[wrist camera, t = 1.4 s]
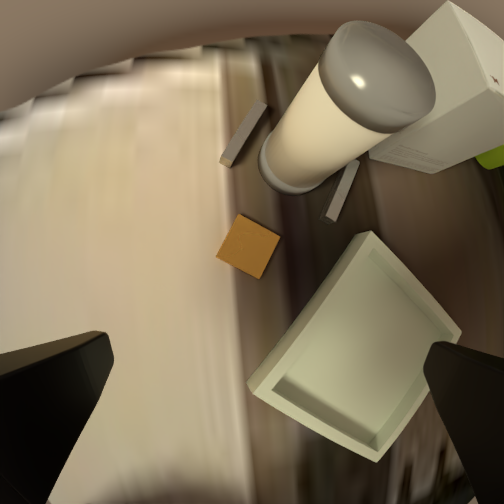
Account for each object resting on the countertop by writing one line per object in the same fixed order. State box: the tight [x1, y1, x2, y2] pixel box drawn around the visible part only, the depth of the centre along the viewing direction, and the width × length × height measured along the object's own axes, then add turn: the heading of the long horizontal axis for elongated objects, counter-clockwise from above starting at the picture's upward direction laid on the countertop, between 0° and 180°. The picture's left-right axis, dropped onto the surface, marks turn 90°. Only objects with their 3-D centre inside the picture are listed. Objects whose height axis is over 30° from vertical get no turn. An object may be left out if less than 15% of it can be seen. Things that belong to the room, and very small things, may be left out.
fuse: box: [258, 21, 436, 196], centre depth 15 cm, size 5×5×12 cm
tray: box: [246, 231, 462, 463], centre depth 20 cm, size 13×13×2 cm
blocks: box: [216, 100, 360, 279], centre depth 20 cm, size 10×8×1 cm
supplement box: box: [369, 0, 504, 174], centre depth 17 cm, size 7×7×13 cm
